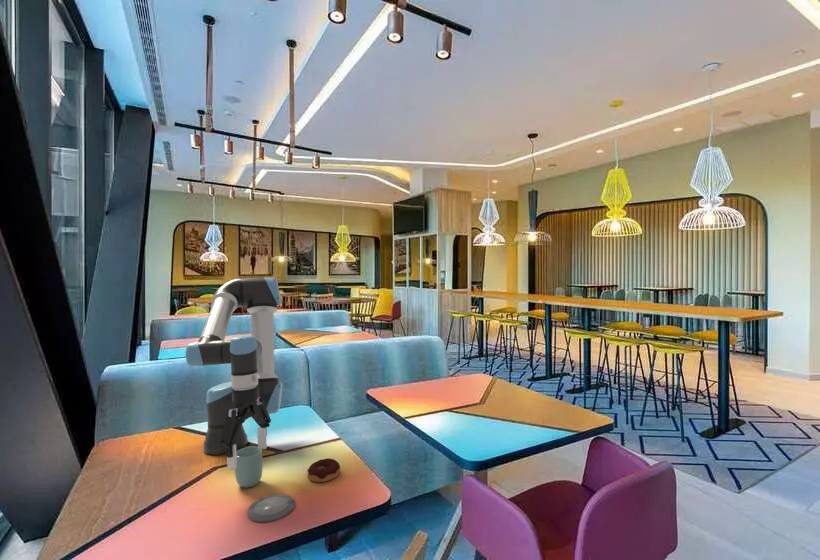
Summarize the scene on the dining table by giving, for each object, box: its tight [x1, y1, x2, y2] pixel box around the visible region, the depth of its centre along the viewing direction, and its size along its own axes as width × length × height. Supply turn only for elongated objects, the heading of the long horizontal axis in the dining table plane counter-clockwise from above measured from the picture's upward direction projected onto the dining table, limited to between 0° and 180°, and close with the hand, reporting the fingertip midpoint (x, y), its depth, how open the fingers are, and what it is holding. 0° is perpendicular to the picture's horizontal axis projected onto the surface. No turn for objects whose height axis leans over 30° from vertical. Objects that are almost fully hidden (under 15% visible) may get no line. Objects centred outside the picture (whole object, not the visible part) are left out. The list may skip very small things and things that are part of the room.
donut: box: [306, 458, 341, 483], centre depth 127 cm, size 10×10×4 cm
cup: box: [234, 445, 264, 489], centre depth 123 cm, size 8×8×10 cm
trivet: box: [247, 493, 296, 523], centre depth 110 cm, size 12×12×1 cm
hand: (248, 457), depth 123 cm, fingers open, 13 cm apart
